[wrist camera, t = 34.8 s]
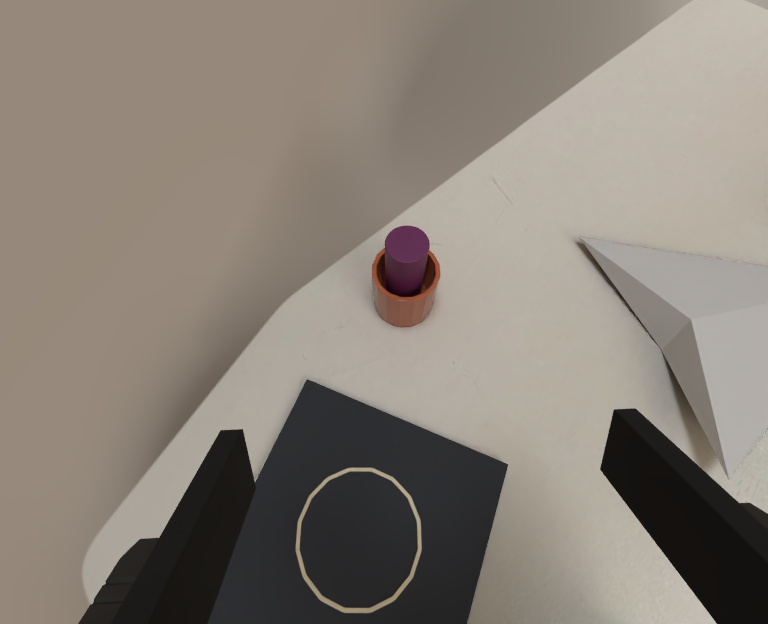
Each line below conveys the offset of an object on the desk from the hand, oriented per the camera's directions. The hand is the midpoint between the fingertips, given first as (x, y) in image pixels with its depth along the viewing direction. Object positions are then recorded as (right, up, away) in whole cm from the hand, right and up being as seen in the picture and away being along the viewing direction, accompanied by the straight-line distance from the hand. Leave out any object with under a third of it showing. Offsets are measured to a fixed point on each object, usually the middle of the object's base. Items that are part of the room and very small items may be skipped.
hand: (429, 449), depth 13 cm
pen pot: (0, +6, +26) cm, 27 cm away
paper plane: (+31, +7, +26) cm, 41 cm away
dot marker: (0, +6, +26) cm, 27 cm away
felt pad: (-4, -14, +18) cm, 23 cm away
